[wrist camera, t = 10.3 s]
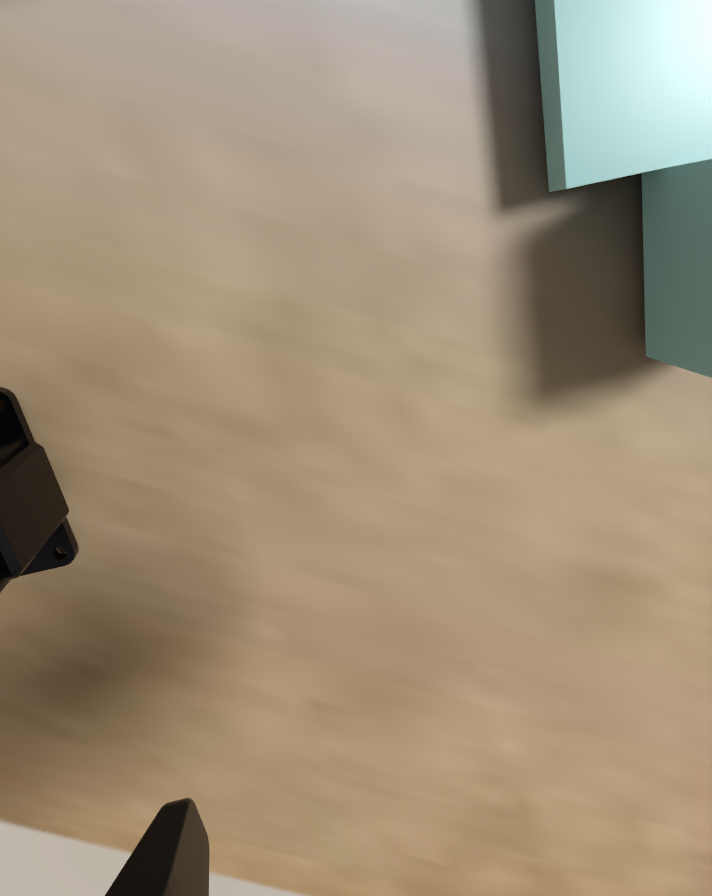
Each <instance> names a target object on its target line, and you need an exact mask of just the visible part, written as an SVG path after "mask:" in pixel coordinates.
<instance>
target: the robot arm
mask: <svg viewBox="0 0 712 896" xmlns="http://www.w3.org/2000/svg"><path fill="white" fill-rule="evenodd" d="M0 400H2V401H3V403H4V406H5V408H4V410H0V593H1V591H2V590H3V589H4V588H5V586H6V585H7V584H8V583H9V581H10V580H11V579H13V578H17V577H19V576H22V575H27V574H31V573H35V572H40V571H44V570H48V569H53V568H57V567H62V566H65V565H68V564H70V563H71V562H72V561H73V560H74V558H75V557H76V555H77V553H78V550H79V549H78V544H77V542H76V539H75V537H74V535H73V532H72V530H71V527H70V525H69V522H68V520H67V518H66V516H67V514H68V512H69V509H68V506H67V504H66V501H65V499H64V496H63V494H62V491H61V489H60V487H59V484H58V482H57V479H56V477H55V474H54V472H53V470H52V467H51V465H50V462H49V460H48V457H47V455H46V453H45V450H44V448H43V447H42V446H41V445H39V444H38V443H36V442H35V441H34V438H33V436H32V433H31V431H30V429H29V426H28V424H27V421H26V419H25V417H24V414H23V412H22V409H21V407H20V405H19V402H18V400H17V398H16V396H15V395H14V393H12V392H11V391H10V390H8V389H5V388H2V387H0ZM56 547H62V548H64V549H65V550H66V551H67V554H61V553H59V552H58V551H57V549H56ZM105 896H209V841H208V836H207V832H206V830H205V827H204V825H203V822H202V820H201V818H200V815H199V813H198V810H197V808H196V805H195V803H194V801H193V800H192V799H190V798H185V799H181V800H177V801H173V802H169V803H166V804H165V805H164V806H163V807H162V808H161V809H160V810H159V812H158V814H157V815H156V817H155V818H154V820H153V821H152V823H151V825H150V826H149V828H148V829H147V831H146V832H145V834H144V835H143V837H142V839H141V840H140V842H139V843H138V845H137V846H136V848H135V849H134V851H133V853H132V854H131V856H130V857H129V859H128V860H127V862H126V864H125V865H124V867H123V868H122V870H121V871H120V873H119V874H118V876H117V878H116V879H115V881H114V882H113V884H112V886H111V887H110V889H109V890H108V892H107V893H106V895H105Z"/></svg>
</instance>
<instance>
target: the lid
mask: <svg viewBox="0 0 712 896" xmlns="http://www.w3.org/2000/svg"><path fill="white" fill-rule="evenodd" d="M535 10H536V23H537V37H538V50H539V63H540V77H541V90H542V104H543V117H544V131H545V144H546V157H547V171H548V184H549V192H552V191H558V190H563V189H569V188H573V187H578V186H583V185H587V184H592V183H597V182H601V181H606V180H611V179H615V178H620V177H625V176H629V175H634V174H639V173H642V209H643V253H644V298H645V342H646V357H649V358H652V359H655V360H658V361H661V362H664V363H667V364H671V365H674V366H677V367H680V368H683V369H686V370H689V371H692V372H695V373H699V374H702V375H705V376H708V377H711V378H712V0H535Z"/></svg>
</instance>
